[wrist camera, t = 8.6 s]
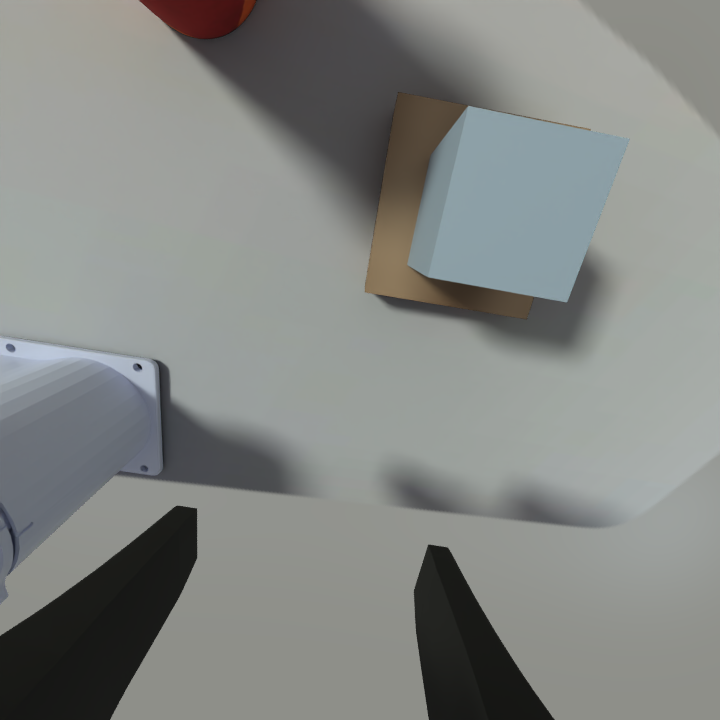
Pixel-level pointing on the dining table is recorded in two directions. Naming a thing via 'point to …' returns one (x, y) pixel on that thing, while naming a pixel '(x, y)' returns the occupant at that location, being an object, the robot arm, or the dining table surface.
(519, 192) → the block
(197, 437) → the dining table surface
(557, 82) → the dining table surface
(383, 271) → the base
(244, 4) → the paper cup
